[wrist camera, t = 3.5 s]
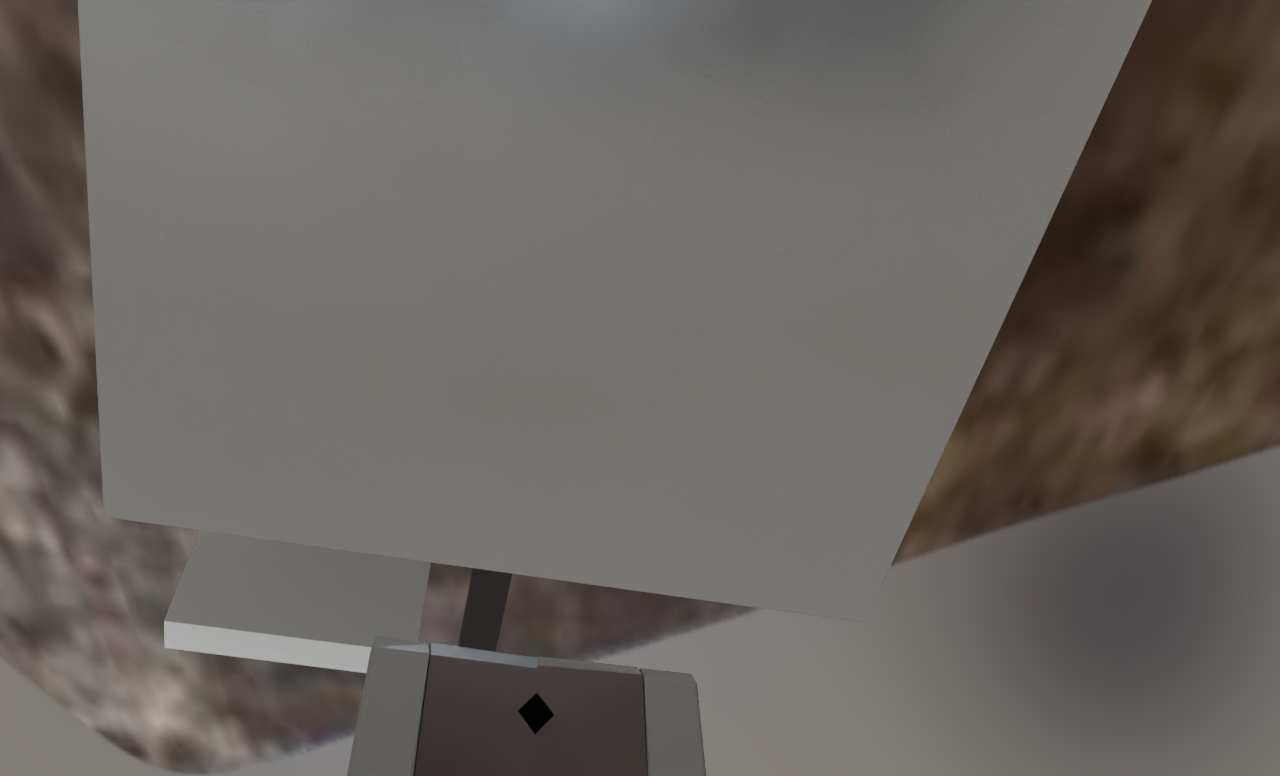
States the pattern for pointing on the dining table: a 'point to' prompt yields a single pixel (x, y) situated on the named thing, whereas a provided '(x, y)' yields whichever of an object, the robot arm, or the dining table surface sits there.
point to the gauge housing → (293, 601)
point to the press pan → (568, 272)
